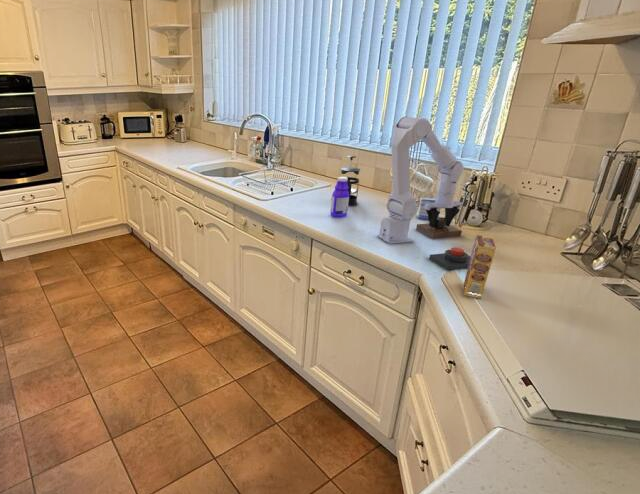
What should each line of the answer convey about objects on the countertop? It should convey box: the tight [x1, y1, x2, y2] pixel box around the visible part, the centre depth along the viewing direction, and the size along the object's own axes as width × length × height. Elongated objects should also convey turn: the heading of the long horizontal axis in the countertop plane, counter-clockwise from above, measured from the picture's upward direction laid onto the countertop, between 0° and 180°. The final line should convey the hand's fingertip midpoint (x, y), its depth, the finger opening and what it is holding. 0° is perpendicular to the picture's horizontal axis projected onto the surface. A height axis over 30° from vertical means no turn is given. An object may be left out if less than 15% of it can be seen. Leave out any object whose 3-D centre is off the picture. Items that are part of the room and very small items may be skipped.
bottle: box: [329, 176, 349, 219], centre depth 171 cm, size 7×6×17 cm
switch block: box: [428, 249, 471, 272], centre depth 128 cm, size 12×9×4 cm
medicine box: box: [416, 196, 441, 221], centre depth 169 cm, size 8×4×9 cm, turn 68°
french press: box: [340, 155, 361, 207], centre depth 188 cm, size 12×9×23 cm
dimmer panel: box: [415, 222, 463, 240], centre depth 153 cm, size 12×10×3 cm
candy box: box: [463, 235, 496, 300], centre depth 109 cm, size 9×4×15 cm, turn 152°
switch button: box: [450, 246, 465, 256], centre depth 127 cm, size 4×4×2 cm
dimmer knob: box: [434, 216, 447, 229], centre depth 152 cm, size 4×4×4 cm
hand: (439, 226), depth 152 cm, fingers open, 6 cm apart
